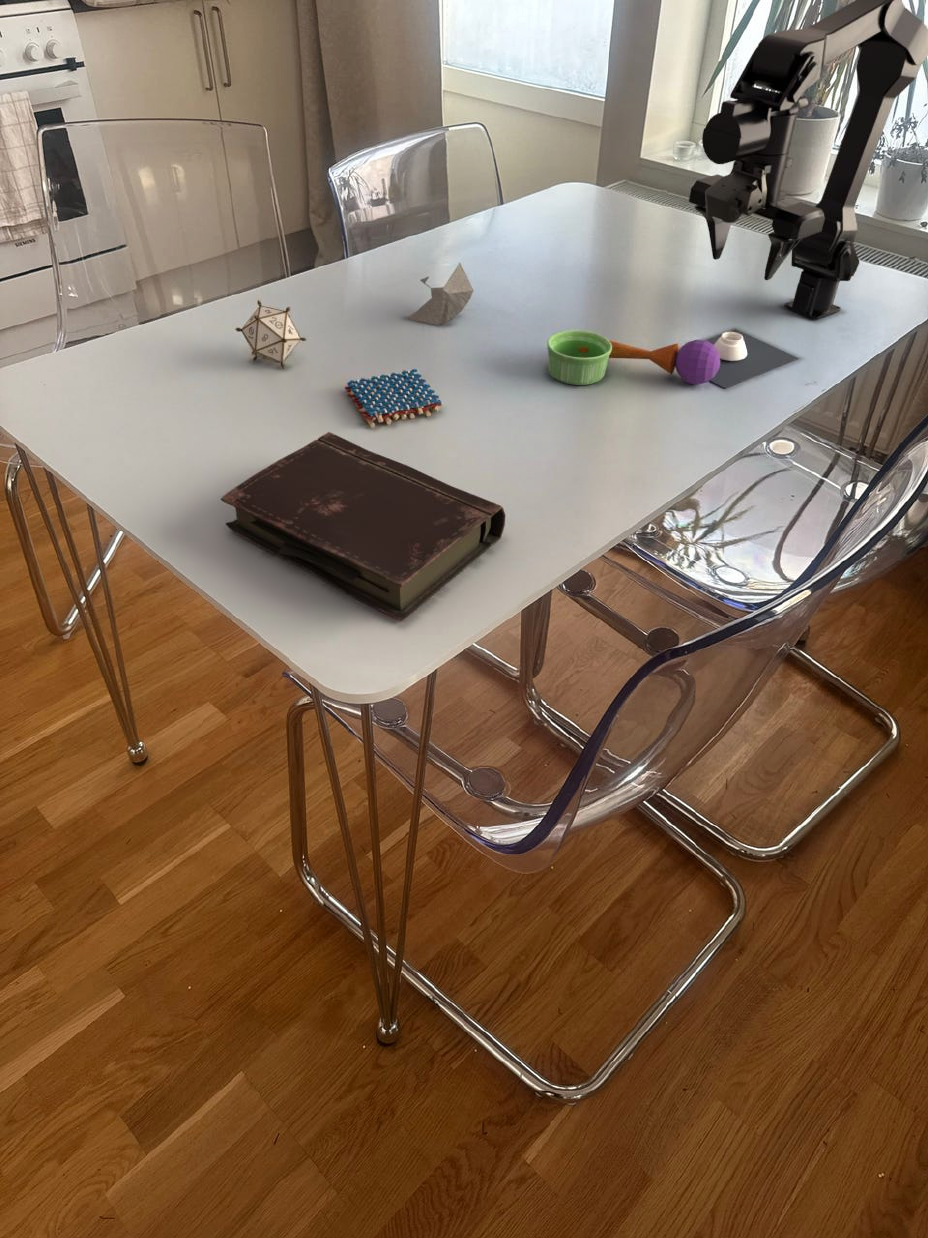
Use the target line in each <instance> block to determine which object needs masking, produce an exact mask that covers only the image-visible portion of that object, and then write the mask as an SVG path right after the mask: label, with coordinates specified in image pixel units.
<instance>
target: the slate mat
mask: <svg viewBox="0 0 928 1238" xmlns="http://www.w3.org/2000/svg"><path fill="white" fill-rule="evenodd" d="M728 332H735V333H738V334H741V335H742V336H743V341H744V342H745V346H746V350H747V356H746V357H745V358H744V359H741V360H737V361H726V360H722V359H720V367H719V370H718V371H717V373H716V374H715V376H714V377H713V378H712V379H710V380H709V381H708V382H710V383H712V384H715V385H717V386H718V387H720V388H722V389H724V390H726V389H728V388H730V387H734V386H735V385H738V384H741V383H743V382H746V381H748V380H750V379H752V378H755V377H757V376H760V375H762V374H765V373H768V372H770V371H773V370H774V369H778V368H779V367H782V366H784V365H787V364H789V363H792V362H794V361H797V360H799V357H797V356H796V355H793V354H791V353H788V352H786V351H785V350H782V349H780V348H778V347H775V346H773V345H771V344H769V343H767V342H765V341H762V340H760V339H758V338H756V337H754V336H752V335H750V334H748V333H745V332H744V331H741V330H739V329H736V328H734V329H730V330H729V331H728ZM722 334H723V333H721V334H718V335H715V336H712V337H710V338H708V339H707V338H706V339H705V340H704V341H708V342H709V343H711V344H713V345H714V344H715V343H716V342H717V340H718V339H719V338H720V337H721V335H722ZM678 352H679V351H678Z"/></svg>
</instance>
